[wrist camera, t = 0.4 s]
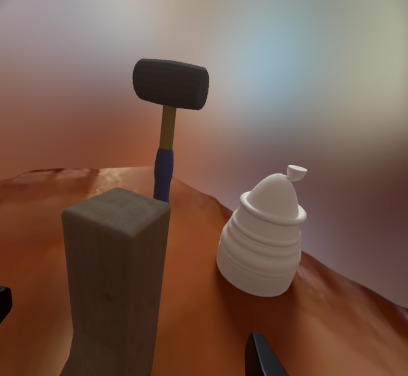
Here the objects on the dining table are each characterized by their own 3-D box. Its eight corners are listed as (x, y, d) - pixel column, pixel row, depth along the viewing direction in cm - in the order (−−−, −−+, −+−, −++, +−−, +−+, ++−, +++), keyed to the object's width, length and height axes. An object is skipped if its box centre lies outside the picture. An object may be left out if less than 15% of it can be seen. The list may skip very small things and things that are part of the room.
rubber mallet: (191, 212, 50) (213, 69, 39) (179, 228, 43) (202, 60, 32) (143, 199, 52) (152, 60, 41) (125, 212, 45) (129, 50, 34)
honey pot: (278, 247, 43) (309, 161, 36) (303, 303, 31) (356, 190, 24) (215, 237, 42) (235, 148, 36) (215, 289, 30) (245, 171, 24)
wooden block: (69, 527, 13) (20, 320, 6) (17, 478, 14) (-73, 261, 7) (153, 367, 21) (173, 202, 14) (116, 345, 22) (117, 184, 15)
